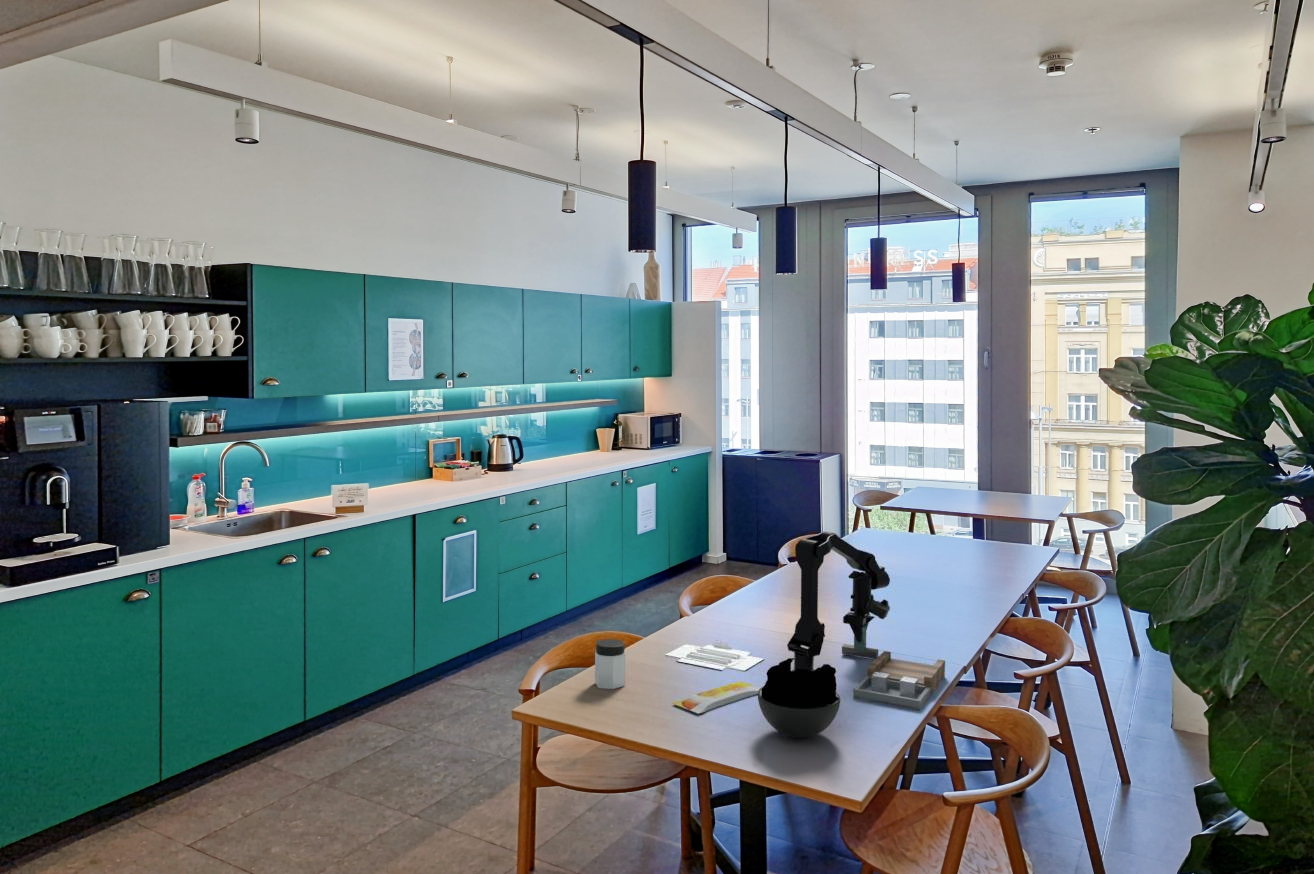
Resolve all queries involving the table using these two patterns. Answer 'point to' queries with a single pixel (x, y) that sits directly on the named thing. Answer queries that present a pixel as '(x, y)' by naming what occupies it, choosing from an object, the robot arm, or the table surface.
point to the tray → (715, 656)
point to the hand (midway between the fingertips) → (860, 640)
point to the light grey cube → (909, 686)
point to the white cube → (880, 681)
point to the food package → (717, 697)
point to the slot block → (909, 670)
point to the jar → (610, 664)
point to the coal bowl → (799, 699)
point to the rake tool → (860, 648)
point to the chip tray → (891, 694)
